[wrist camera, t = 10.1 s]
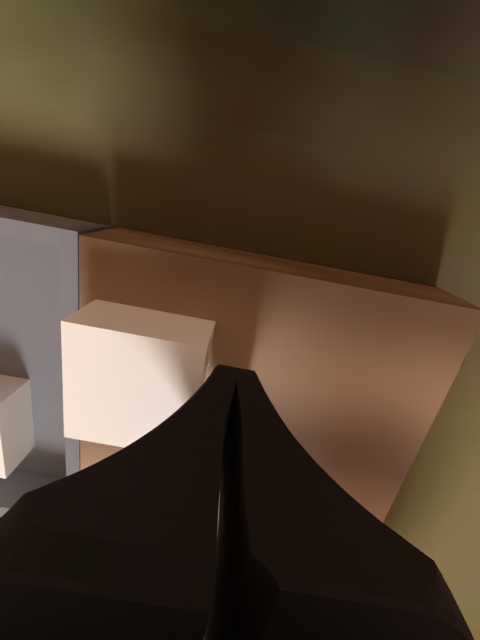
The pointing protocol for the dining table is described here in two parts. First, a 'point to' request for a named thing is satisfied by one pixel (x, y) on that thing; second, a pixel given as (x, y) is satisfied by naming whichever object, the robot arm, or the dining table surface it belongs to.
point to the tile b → (128, 369)
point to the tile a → (15, 423)
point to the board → (303, 345)
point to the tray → (39, 334)
